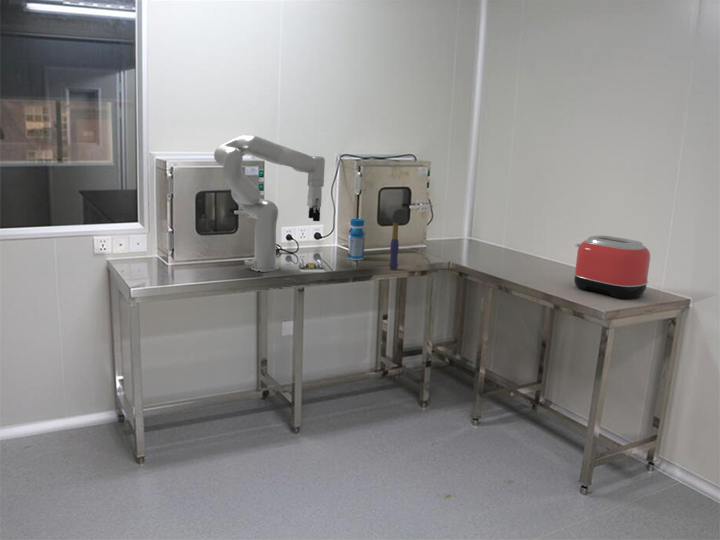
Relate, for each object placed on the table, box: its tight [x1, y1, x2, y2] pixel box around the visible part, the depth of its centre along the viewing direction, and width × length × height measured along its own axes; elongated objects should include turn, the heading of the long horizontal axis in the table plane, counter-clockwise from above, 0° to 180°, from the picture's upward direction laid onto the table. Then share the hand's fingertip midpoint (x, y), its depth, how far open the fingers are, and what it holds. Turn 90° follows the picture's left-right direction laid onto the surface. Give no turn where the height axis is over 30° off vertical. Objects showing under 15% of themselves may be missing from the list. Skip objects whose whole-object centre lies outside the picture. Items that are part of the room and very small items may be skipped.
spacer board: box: [298, 265, 326, 273], centre depth 302 cm, size 11×13×1 cm
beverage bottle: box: [347, 218, 366, 261], centre depth 328 cm, size 8×8×20 cm
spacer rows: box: [298, 258, 324, 270], centre depth 304 cm, size 10×8×3 cm
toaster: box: [573, 235, 651, 300], centre depth 282 cm, size 32×23×23 cm
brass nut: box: [305, 262, 317, 269], centre depth 304 cm, size 5×4×2 cm
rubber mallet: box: [385, 204, 408, 271], centre depth 307 cm, size 12×8×30 cm, turn 13°
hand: (314, 219), depth 309 cm, fingers open, 9 cm apart
